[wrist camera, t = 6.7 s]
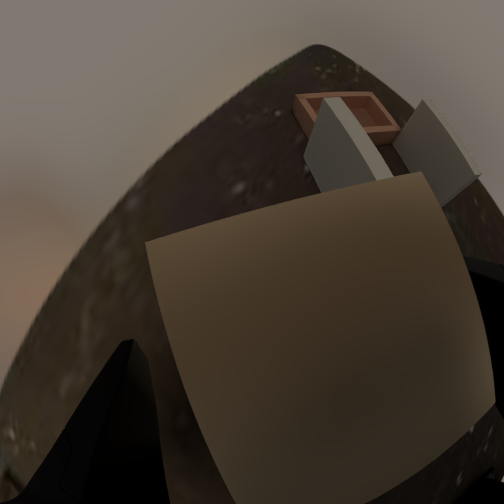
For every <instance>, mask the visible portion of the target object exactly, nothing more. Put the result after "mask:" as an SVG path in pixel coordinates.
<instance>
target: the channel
mask: <svg viewBox="0 0 504 504" xmlns="http://www.w3.org/2000/svg"><path fill="white" fill-rule="evenodd" d="M392 145H393V146H394V148H395V149H396V151H397V152H398V154H399V156H400V157H401V159H402V160H403V162H404V164H405V165H406V167H407V169H408V170H409V172H410V173H415V172H420V171H421V172H422V173H423V175H424V177H425V179H426V180H427V182H428V184H429V186H430V188H431V189H432V191H433V193H434V195H435V197H436V199H437V201H438V203H439V205H440V207H442V206H444V205H445V204H446V203H447V202H449V201H450V200H451V199H452V198H454V197H455V196H456V195H457V194H459V193H460V192H461V191H462V190H464V189H465V188H466V187H467V186H468V185H470V184H471V183H472V182H473V181H474V180H475V179H477V178H478V177H479V176H480V175H481V174H482V173H481V171H480V169H479V167H478V166H477V164H476V162H475V161H474V159H473V158H472V156H471V154H470V153H469V151H468V149H467V148H466V146H465V145H464V144H463V142H462V140H461V139H460V137H459V136H458V135H457V133H456V132H455V130H454V129H453V128H452V126H451V125H450V124H449V122H448V121H447V120H446V118H445V117H444V115H443V114H442V113H441V112H440V111H439V109H438V108H437V107H436V105H435V104H434V103H433V102H432V101H431V100H425V99H422V101H421V102H420V104H419V105H418V107H417V108H416V110H415V111H414V113H413V114H412V116H411V117H410V119H409V120H408V122H407V123H406V125H405V126H404V127H403V129H402V130H401V132H400V133H399V135H398V136H397V138H396V139H395V140H394V142H393V143H392ZM303 158H304V160H305V162H306V164H307V165H308V167H309V169H310V171H311V173H312V175H313V177H314V179H315V181H316V183H317V185H318V187H319V189H320V191H321V193H324V192H328V191H332V190H337V189H341V188H345V187H349V186H354V185H358V184H363V183H367V182H372V181H376V180H381V179H386V178H391V177H393V175H392V173H391V171H390V170H389V168H388V166H387V165H386V163H385V161H384V160H383V158H382V156H381V155H380V153H379V152H378V150H377V148H376V147H375V145H374V144H373V142H372V141H371V139H370V138H369V136H368V135H367V133H366V132H365V130H364V129H363V127H362V126H361V125H360V123H359V122H358V120H357V119H356V118H355V116H354V115H353V113H352V112H351V111H350V109H349V108H348V107H347V105H346V104H345V103H344V102H343V100H342V99H341V98H340V97H331V98H323V100H322V103H321V106H320V109H319V112H318V115H317V118H316V121H315V124H314V127H313V130H312V133H311V136H310V139H309V141H308V144H307V147H306V150H305V153H304V156H303Z"/></svg>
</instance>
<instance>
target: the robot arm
mask: <svg viewBox="0 0 504 504" xmlns="http://www.w3.org/2000/svg"><path fill="white" fill-rule="evenodd" d="M463 259H464V261H465V264H466V267H467V269H468V272H469V275H470V278H471V281H472V284H473V287H474V290H475V294H476V297H477V300H478V304H479V308H480V311H481V315H482V319H483V323H484V327H485V332H486V337H487V341H488V347H489V352H490V358H491V364H492V371H493V380H494V389H495V405H496V407H497V408H498V410H499V412H500V414H501V415H502V417H503V419H504V265H503V264H498V263H494V262H490V261H485V260H481V259H476V258H472V257H467V256H463ZM495 471H496V469H495V468H492V469H490V471H489V472H488V473H487V474H486V475H485V476H484V477H483V478H482V479H481V480H480V481H479V482H478V483H477V484H476V485H475V486H474V487H472V488H471V489H470V490H469V491H468V492H467V493H466V494H465V495H464V496H463V497H461V498H460V499H459V500H458V501H457V502H456V503H454V504H504V482H501V481H497V480H494V479H495ZM0 504H170V500H169V495H168V490H167V485H166V479H165V473H164V467H163V460H162V453H161V445H160V437H159V428H158V417H157V408H156V402H155V396H154V391H153V386H152V380H151V374H150V368H149V362H148V359H147V357H146V355H145V354H144V352H143V351H142V349H141V348H140V346H139V345H138V343H137V342H136V340H134V339H129V340H125V341H122V342H121V343H120V344H119V346H118V347H117V348H116V350H115V351H114V353H113V354H112V356H111V357H110V358H109V360H108V361H107V363H106V364H105V366H104V367H103V369H102V370H101V372H100V373H99V375H98V376H97V378H96V379H95V381H94V382H93V384H92V385H91V387H90V388H89V390H88V391H87V393H86V394H85V396H84V397H83V399H82V400H81V402H80V404H79V405H78V407H77V408H76V410H75V411H74V413H73V415H72V416H71V418H70V419H69V421H68V423H67V424H66V426H65V429H63V431H62V432H61V434H60V436H59V437H58V439H57V441H56V442H55V444H54V445H53V447H52V449H51V450H50V452H49V453H48V455H47V456H46V458H45V459H44V461H43V462H42V464H41V465H40V467H39V468H38V469H37V471H36V472H35V474H34V475H33V477H32V478H31V480H30V481H29V483H28V484H27V486H26V487H25V489H24V490H23V491H22V492H21V493H20V494H19V495H18V496H17V497H15V498H13V499H11V500H8V501H5V502H1V503H0Z"/></svg>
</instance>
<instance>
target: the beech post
mask: <svg viewBox="0 0 504 504" xmlns="http://www.w3.org/2000/svg"><path fill="white" fill-rule="evenodd" d="M145 244H146V249H147V254H148V259H149V264H150V269H151V273H152V278H153V282H154V286H155V290H156V294H157V298H158V302H159V306H160V310H161V314H162V318H163V321H164V325H165V328H166V332H167V335H168V339H169V342H170V346H171V349H172V352H173V355H174V358H175V361H176V365H177V368H178V371H179V374H180V377H181V379H182V382H183V385H184V388H185V391H186V394H187V396H188V399H189V402H190V404H191V407H192V410H193V412H194V415H195V417H196V420H197V422H198V425H199V427H200V430H201V432H202V434H203V437H204V439H205V441H206V444H207V446H208V448H209V450H210V453H211V455H212V457H213V459H214V461H215V463H216V466H217V468H218V470H219V472H220V474H221V476H222V478H223V480H224V482H225V484H226V486H227V488H228V490H229V492H230V493H231V495H232V497H233V499H234V501H235V503H236V504H365V503H367V502H369V501H371V500H373V499H375V498H377V497H378V496H380V495H382V494H384V493H385V492H387V491H389V490H391V489H392V488H394V487H396V486H397V485H399V484H400V483H402V482H403V481H405V480H407V479H408V478H410V477H411V476H413V475H414V474H415V473H417V472H418V471H420V470H421V469H423V468H424V467H425V466H427V465H428V464H429V463H431V462H432V461H433V460H435V459H436V458H437V457H438V456H440V455H441V454H442V453H443V452H445V451H446V450H447V449H448V448H449V447H451V446H452V445H453V444H454V443H455V442H456V441H457V440H459V439H460V438H461V437H462V436H463V435H464V434H465V433H466V432H467V431H468V430H469V429H470V428H471V427H472V426H473V425H474V424H475V423H476V422H477V421H478V420H479V419H480V418H481V417H482V416H483V415H484V414H485V413H486V412H487V411H488V410H489V409H490V408H491V407H492V405H493V404H494V403H495V389H494V380H493V371H492V364H491V358H490V352H489V347H488V341H487V337H486V332H485V327H484V323H483V319H482V315H481V311H480V308H479V304H478V300H477V297H476V294H475V290H474V287H473V284H472V281H471V278H470V275H469V272H468V269H467V267H466V264H465V261H464V259H463V256H462V253H461V251H460V248H459V246H458V244H457V241H456V239H455V236H454V234H453V232H452V230H451V227H450V225H449V223H448V221H447V219H446V217H445V215H444V213H443V211H442V209H441V207H440V205H439V203H438V201H437V199H436V197H435V195H434V193H433V191H432V189H431V188H430V186H429V184H428V182H427V180H426V179H425V177H424V175H423V173H422V172H421V171H420V172H415V173H410V174H405V175H400V176H395V177H391V178H386V179H381V180H376V181H372V182H367V183H363V184H358V185H354V186H349V187H345V188H341V189H337V190H332V191H328V192H324V193H320V194H316V195H312V196H308V197H304V198H300V199H296V200H292V201H288V202H284V203H280V204H276V205H272V206H269V207H265V208H261V209H257V210H254V211H250V212H246V213H243V214H239V215H236V216H232V217H228V218H225V219H221V220H218V221H214V222H211V223H208V224H204V225H201V226H197V227H194V228H191V229H187V230H184V231H181V232H178V233H174V234H171V235H168V236H165V237H161V238H158V239H155V240H152V241H149V242H146V243H145Z"/></svg>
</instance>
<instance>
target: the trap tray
mask: <svg viewBox="0 0 504 504" xmlns="http://www.w3.org/2000/svg"><path fill="white" fill-rule="evenodd" d="M331 97H340V98H341V99H342V100H343V102H344V103H345V104H346V105H347V107H348V108H349V109H350V111H351V112H352V113H353V115H354V116H355V118H356V119H357V120H358V122H359V123H360V125H361V126H362V127H363V129H364V130H365V132H366V133H367V135H368V136H369V138H370V139H371V141H372V142H373V144H374V145H375V146H379V145H388V144H392V143H393V142H394V140H395V139H396V138H397V136H398V135H399V133H400V132H401V129H400V127H399V126H398V125H397V123H396V122H395V121H394V119H393V118H392V117H391V115H390V114H389V113H388V111H387V110H386V109H385V108H384V106H383V105H382V104H381V103H380V101H379V100H378V99H377V98H376V97H375V95H374V94H373V93H372V92H326V93H309V94H297V95H295V99H294V104H293V108H292V113H293V114H294V116H295V118H296V119H297V121H298V123H299V124H300V126H301V128H302V129H303V131H304V133H305V134H306V136H307V138H308V139H310V136H311V133H312V130H313V127H314V124H315V121H316V118H317V115H318V112H319V109H320V106H321V103H322V100H323V98H331Z"/></svg>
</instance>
